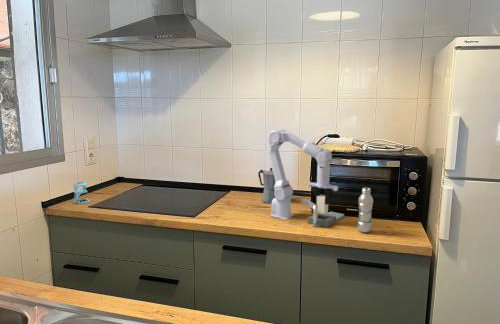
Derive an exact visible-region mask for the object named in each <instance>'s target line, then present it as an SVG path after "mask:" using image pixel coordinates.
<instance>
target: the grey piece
mask: <svg viewBox="0 0 500 324" xmlns="http://www.w3.org/2000/svg"><path fill="white" fill-rule="evenodd" d="M301 200H302V201H301V203H302V204H304V205H305V206H307V207H309V208H310V209H312V211H313V212H312V213H313V214H312V215H313V225H312V228H318V226H317V218H318V205H317V203H314V202H312V201H310V200H308V199H307V198H302V199H301Z"/></svg>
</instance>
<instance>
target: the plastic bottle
mask: <svg viewBox="0 0 500 324" xmlns="http://www.w3.org/2000/svg"><path fill="white" fill-rule="evenodd" d="M371 192H372V191H371V187H362V188H361V194H360V196H359V197H358V219H357V223H356V227H357V228H356V229H357V231H359V232H361V233H370V232H371V231H372V229H373V224H372V209H373V204H374V198H373V196H372V195H371Z"/></svg>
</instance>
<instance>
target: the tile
mask: <svg viewBox="0 0 500 324" xmlns="http://www.w3.org/2000/svg"><path fill="white" fill-rule="evenodd" d="M325 214H326V215H331V216H336V222H338V221H339V220H341V219H342V218H344V217H345V213H340V212H335V211H330V212H327V213H325Z"/></svg>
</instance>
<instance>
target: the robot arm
mask: <svg viewBox="0 0 500 324" xmlns="http://www.w3.org/2000/svg"><path fill="white" fill-rule="evenodd" d="M267 140H268V141H267V145H266V150H267V154H268V157H269V162H270V165H271V168H272V171H273V173H274V177H275V181H276V183H275V186H274V189H275V192H274V195H275V198H274V199H273V200H272V203H270V204H271V212H270V213H271V214H270V217H272V218H273V217H274V218H277V219H278V218H279V219H282V220H283V219H284V220H288V219H290V218H292V217H294V216H295V214H293V213H291V211H292V210H291V209H292V208H291V207H292V197H291V196H292V195H294V189H293V187H292V186H291V183H290V181H289V180H287V177H286V174H285V169H284V166H283V162H282V158H281V153H280V150H279V149H280V148H281V146H282V145H283V144H284V143H288V142H289V143H291V144H293V145H295V146H297V147H298V148H301V149H302V150H303V153H305V154H307V155H308V156H310V157H312V158H314V159H315V160H316V162H317V165H316V166H317V170H316V172H317V173H316V175H317V176H316V182H312V181H310V182H308V184H307V185H308V188H312V189H311V192H312V193H313V194H314V198H315V202H316V203H317V196H319V195H321V193H322V191H321V190H322V189H324V195H325V204H326V205H327V204H328V205H329V204H330V203H329V202H330V200H331V196H332V194H333V193H334V192H337V191H339V185H333V184H331V183H330V175H331V173H330V172H331V159H332V158H333V156H332V155H333V154H332V152H331V151H330V150H329V149H328V148H324V147H322V146H319V145H317V144H316V142H314V141H308V142H306V141H304V140H303V139H301V138H300V137H298V136H296V135H295V134H294V133H292V132H290V131H288V130H287V129H284V128H282V129H278V130H277V129H276V130H271V131H270V132H269V134H268V135H267Z"/></svg>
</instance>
